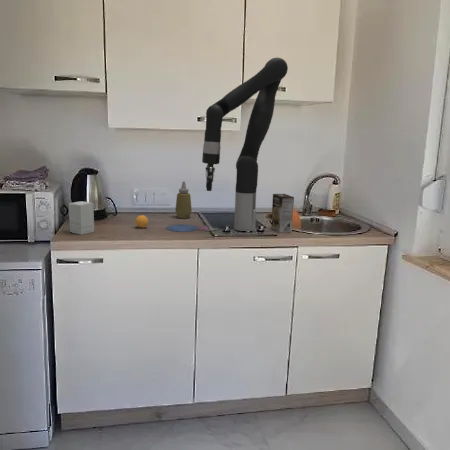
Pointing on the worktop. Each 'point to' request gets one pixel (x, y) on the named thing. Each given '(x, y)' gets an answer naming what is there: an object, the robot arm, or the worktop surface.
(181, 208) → the squeeze bottle
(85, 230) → the supplement box
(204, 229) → the disc
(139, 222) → the ball
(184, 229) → the disc
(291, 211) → the coffee box
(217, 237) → the worktop surface
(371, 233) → the worktop surface
